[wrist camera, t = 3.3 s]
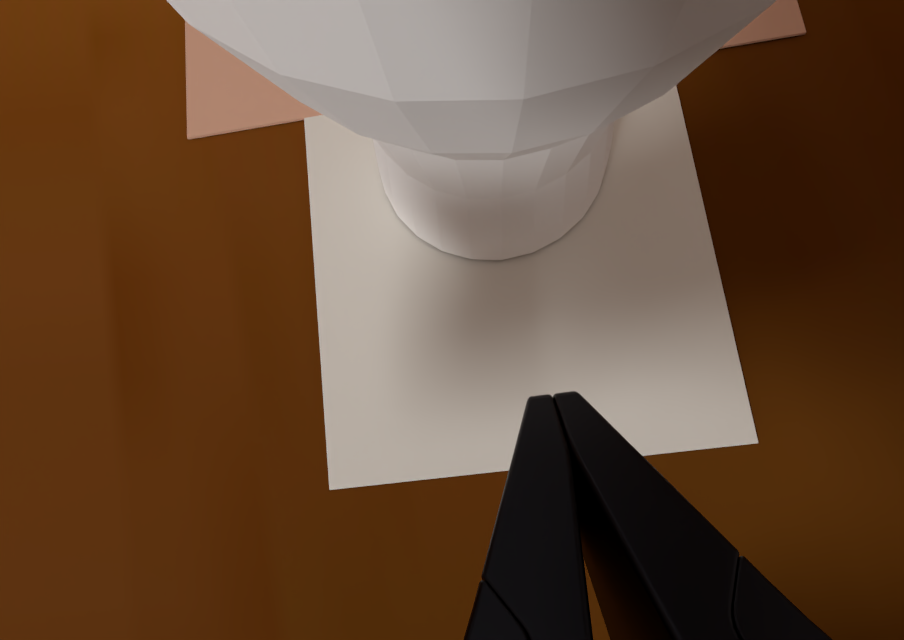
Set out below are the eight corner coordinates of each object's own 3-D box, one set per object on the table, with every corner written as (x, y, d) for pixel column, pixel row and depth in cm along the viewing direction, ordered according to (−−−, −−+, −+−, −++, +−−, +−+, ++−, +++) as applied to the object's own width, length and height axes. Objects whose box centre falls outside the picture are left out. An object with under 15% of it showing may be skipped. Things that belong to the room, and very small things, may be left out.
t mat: (917, 424, 14) (921, 425, 13) (195, 504, 15) (194, 504, 15) (749, -154, 17) (751, -157, 17) (185, -41, 19) (183, -43, 19)
